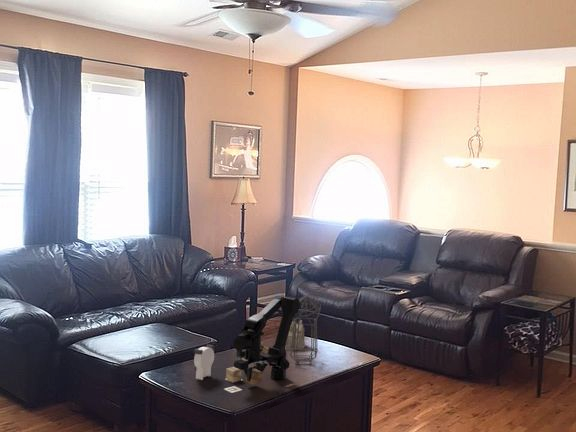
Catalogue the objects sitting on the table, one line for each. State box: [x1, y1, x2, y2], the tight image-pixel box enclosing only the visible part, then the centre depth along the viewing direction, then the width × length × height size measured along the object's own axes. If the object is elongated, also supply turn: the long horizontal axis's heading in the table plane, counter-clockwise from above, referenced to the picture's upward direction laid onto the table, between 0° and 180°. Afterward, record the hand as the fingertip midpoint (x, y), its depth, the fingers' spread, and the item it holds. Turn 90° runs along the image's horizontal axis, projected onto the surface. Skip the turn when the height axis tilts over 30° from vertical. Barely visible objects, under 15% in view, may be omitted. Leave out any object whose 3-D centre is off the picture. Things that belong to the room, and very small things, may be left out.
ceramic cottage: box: [285, 319, 306, 351], centre depth 345 cm, size 16×16×15 cm
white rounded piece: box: [193, 344, 216, 381], centre depth 286 cm, size 12×11×15 cm
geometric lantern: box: [289, 295, 322, 366], centre depth 314 cm, size 16×16×35 cm
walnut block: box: [245, 368, 262, 385], centre depth 275 cm, size 5×5×5 cm
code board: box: [224, 378, 243, 394], centre depth 277 cm, size 18×20×1 cm
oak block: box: [225, 366, 243, 383], centre depth 284 cm, size 5×5×5 cm
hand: (253, 380), depth 275 cm, fingers closed on walnut block, 5 cm apart
